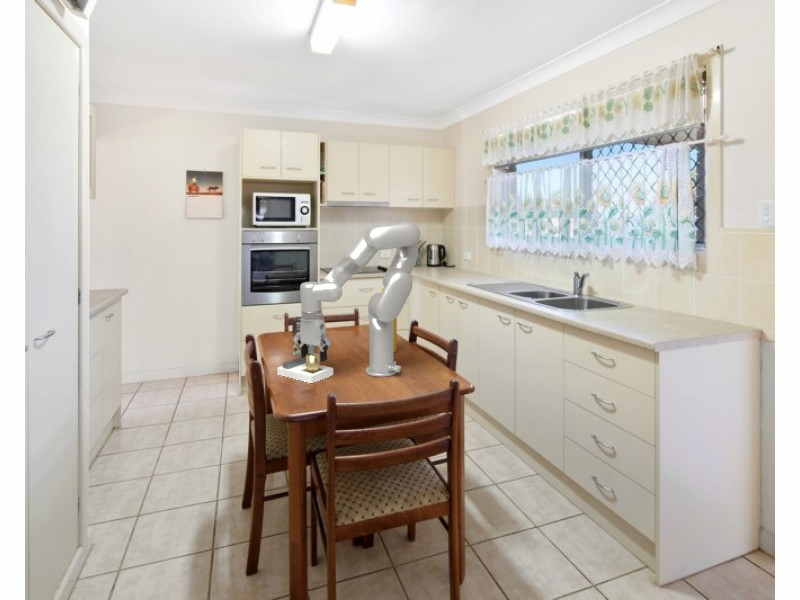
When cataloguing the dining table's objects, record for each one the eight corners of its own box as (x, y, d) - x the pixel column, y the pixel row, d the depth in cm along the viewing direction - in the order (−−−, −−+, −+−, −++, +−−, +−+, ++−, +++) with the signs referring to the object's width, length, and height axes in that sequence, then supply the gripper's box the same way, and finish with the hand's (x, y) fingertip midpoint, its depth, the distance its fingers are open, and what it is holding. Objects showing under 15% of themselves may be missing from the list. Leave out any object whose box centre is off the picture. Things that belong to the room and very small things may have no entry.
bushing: (322, 376, 185) (321, 354, 184) (313, 380, 181) (312, 357, 179) (312, 374, 188) (312, 352, 186) (303, 377, 184) (303, 355, 182)
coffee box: (292, 355, 212) (291, 320, 210) (296, 351, 219) (295, 316, 216) (312, 356, 212) (311, 320, 209) (316, 352, 218) (315, 317, 215)
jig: (333, 375, 187) (333, 363, 186) (311, 384, 177) (311, 371, 176) (299, 367, 196) (299, 355, 195) (277, 375, 186) (276, 362, 186)
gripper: (336, 315, 179) (338, 359, 182) (302, 311, 188) (304, 353, 191) (322, 319, 172) (324, 365, 175) (288, 314, 182) (290, 358, 185)
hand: (314, 358), depth 183 cm, fingers open, 9 cm apart
